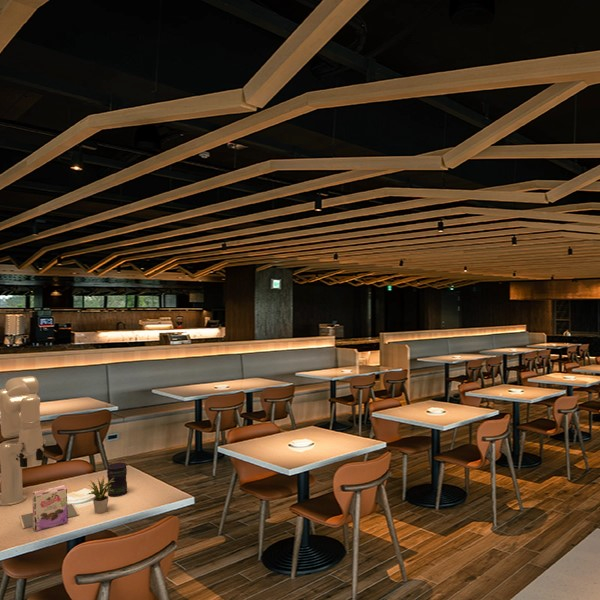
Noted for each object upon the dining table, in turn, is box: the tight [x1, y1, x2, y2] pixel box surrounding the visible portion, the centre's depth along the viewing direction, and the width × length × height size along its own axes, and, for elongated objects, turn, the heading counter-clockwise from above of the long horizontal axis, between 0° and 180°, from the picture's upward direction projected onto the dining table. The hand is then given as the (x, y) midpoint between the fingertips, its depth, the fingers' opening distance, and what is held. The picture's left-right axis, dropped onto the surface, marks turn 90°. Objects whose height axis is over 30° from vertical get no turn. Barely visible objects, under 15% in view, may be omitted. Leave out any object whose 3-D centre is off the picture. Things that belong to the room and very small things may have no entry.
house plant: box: [87, 476, 114, 514], centre depth 244 cm, size 14×14×16 cm
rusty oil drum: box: [106, 462, 128, 498], centre depth 267 cm, size 10×10×15 cm
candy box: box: [31, 484, 69, 532], centre depth 230 cm, size 14×6×16 cm, turn 126°
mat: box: [18, 502, 80, 530], centre depth 240 cm, size 16×24×1 cm
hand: (31, 463), depth 223 cm, fingers open, 9 cm apart
